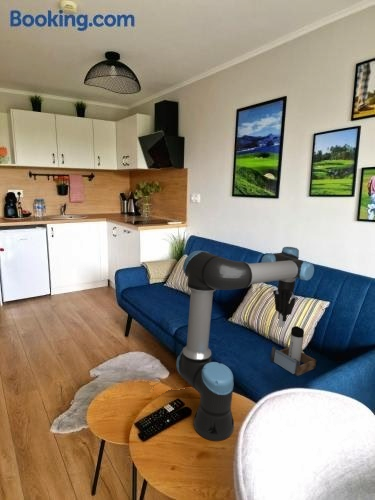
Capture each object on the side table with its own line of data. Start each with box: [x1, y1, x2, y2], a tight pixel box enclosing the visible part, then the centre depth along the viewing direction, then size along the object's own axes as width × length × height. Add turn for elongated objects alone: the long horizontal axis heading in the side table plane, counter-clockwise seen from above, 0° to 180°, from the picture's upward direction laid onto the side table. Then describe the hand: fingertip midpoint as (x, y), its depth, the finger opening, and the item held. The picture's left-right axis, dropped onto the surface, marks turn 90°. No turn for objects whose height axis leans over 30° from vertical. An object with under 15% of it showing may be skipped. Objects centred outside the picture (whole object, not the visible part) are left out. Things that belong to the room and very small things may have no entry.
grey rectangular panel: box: [273, 349, 297, 375], centre depth 163 cm, size 12×1×7 cm, turn 34°
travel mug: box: [288, 325, 305, 366], centre depth 166 cm, size 6×7×20 cm
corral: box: [270, 346, 317, 377], centre depth 167 cm, size 16×16×8 cm
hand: (281, 326), depth 156 cm, fingers closed
